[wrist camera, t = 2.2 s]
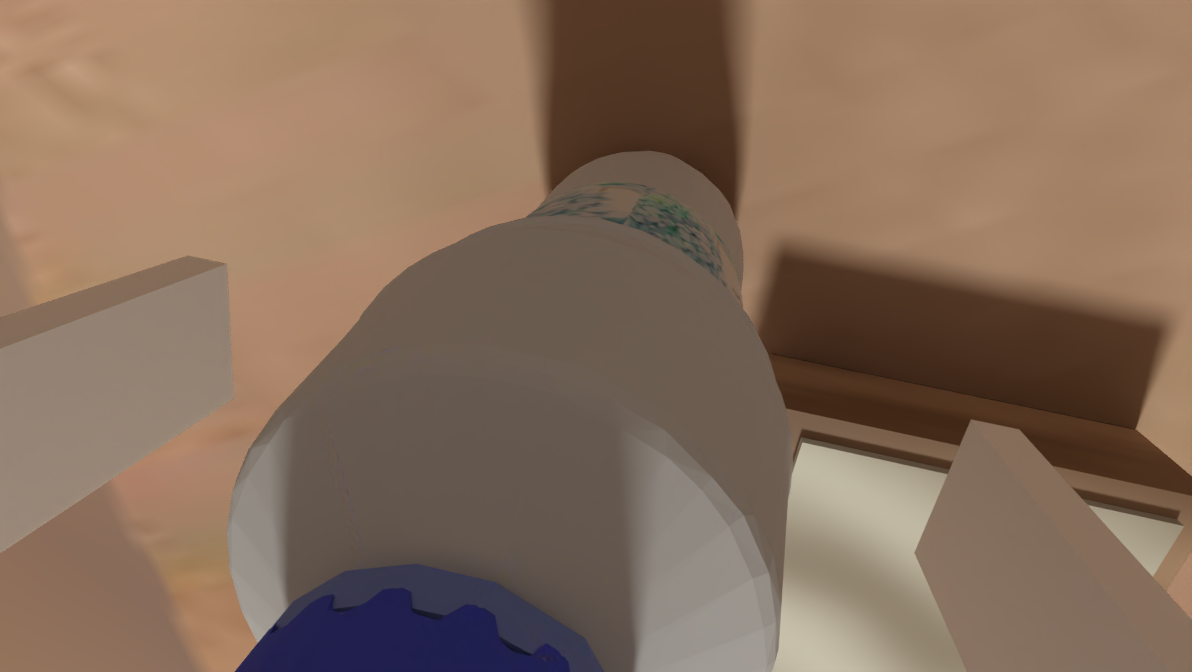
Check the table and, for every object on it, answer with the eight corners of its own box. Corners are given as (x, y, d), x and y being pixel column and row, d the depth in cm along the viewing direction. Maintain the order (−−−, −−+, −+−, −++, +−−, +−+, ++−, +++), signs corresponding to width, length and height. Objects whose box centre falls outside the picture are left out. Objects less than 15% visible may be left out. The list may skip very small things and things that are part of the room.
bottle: (711, 357, 23) (708, 1434, 5) (528, 306, 24) (-115, 1118, 5) (774, 166, 21) (1293, 936, 2) (566, 113, 21) (-454, 386, 3)
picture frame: (770, 353, 23) (781, 412, 19) (1136, 429, 22) (1231, 509, 18) (695, 614, 27) (692, 705, 23) (994, 688, 26) (1043, 797, 22)
